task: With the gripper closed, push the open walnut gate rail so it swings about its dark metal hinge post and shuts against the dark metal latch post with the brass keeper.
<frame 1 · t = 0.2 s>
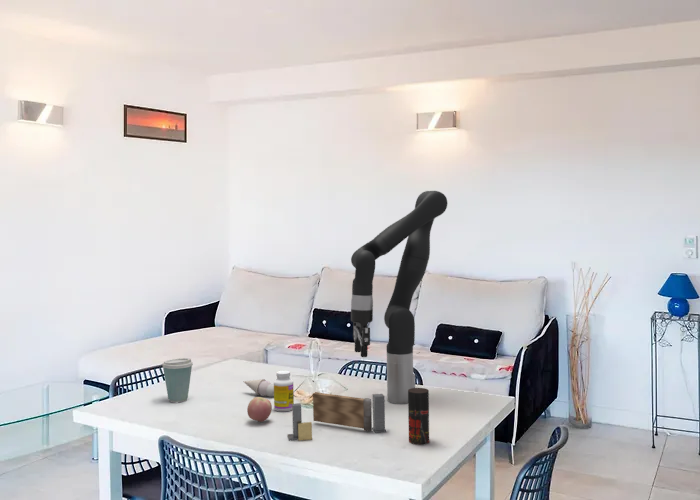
hand: (360, 354, 235), 17 cm above the table, fingers open, 8 cm apart
disposable coffee cup: (178, 400, 246), on the table
supplement bottle: (284, 409, 232), on the table
hinge post: (379, 430, 208), on the table
gate: (342, 411, 211), point 5 cm above the table, hinge at -40.0°
apple: (259, 422, 219), on the table
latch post: (297, 437, 203), on the table
ice cream cone: (259, 395, 251), on the table
deodorant: (419, 442, 198), on the table
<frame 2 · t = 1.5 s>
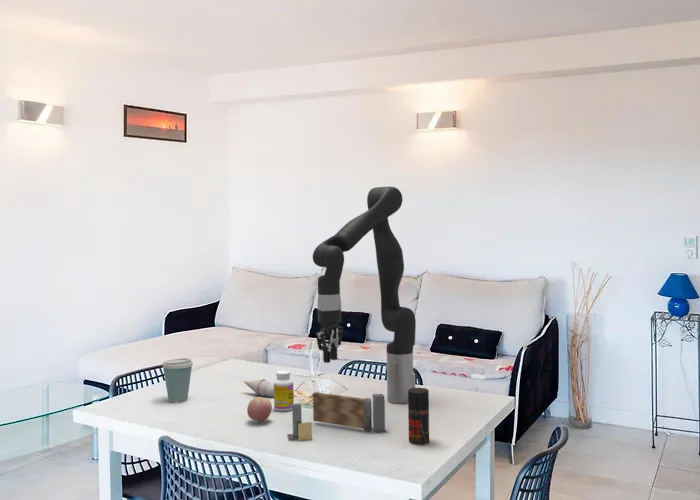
hand: (330, 360, 219), 19 cm above the table, fingers open, 3 cm apart
nothing on the table moved.
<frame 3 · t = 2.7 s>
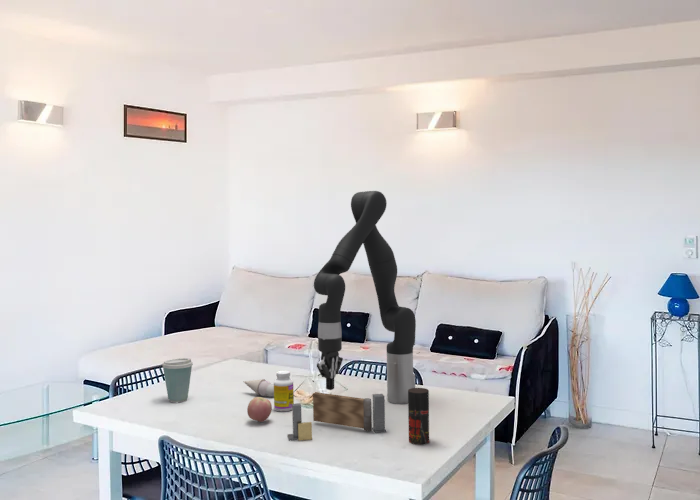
hand: (330, 389, 219), 10 cm above the table, fingers closed
nothing on the table moved.
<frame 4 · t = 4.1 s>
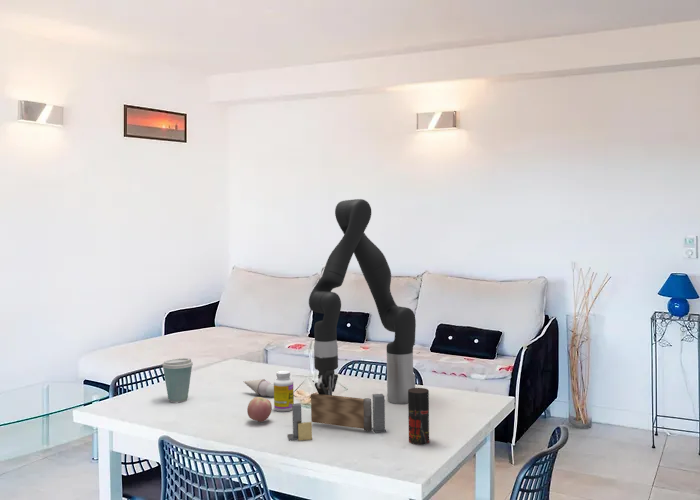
hand: (327, 407, 218), 5 cm above the table, fingers closed
gate: (341, 411, 211), point 5 cm above the table, hinge at -35.8°, touching hand
everything else where it was.
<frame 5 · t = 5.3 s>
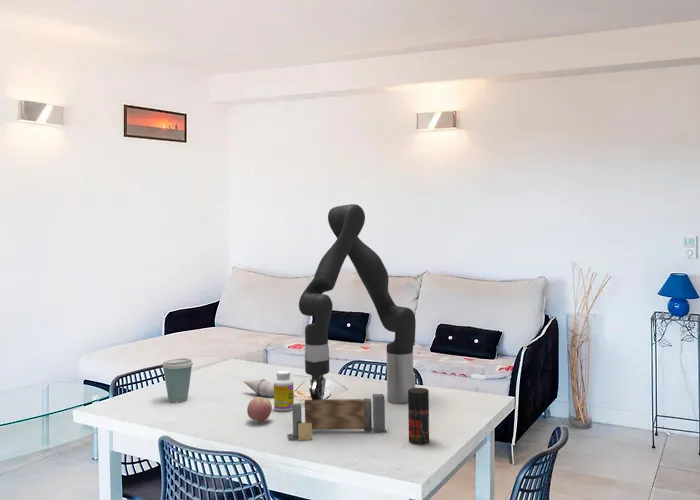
hand: (318, 412, 212), 5 cm above the table, fingers closed
gate: (338, 414, 207), point 5 cm above the table, hinge at -13.6°, touching hand
everything else where it was.
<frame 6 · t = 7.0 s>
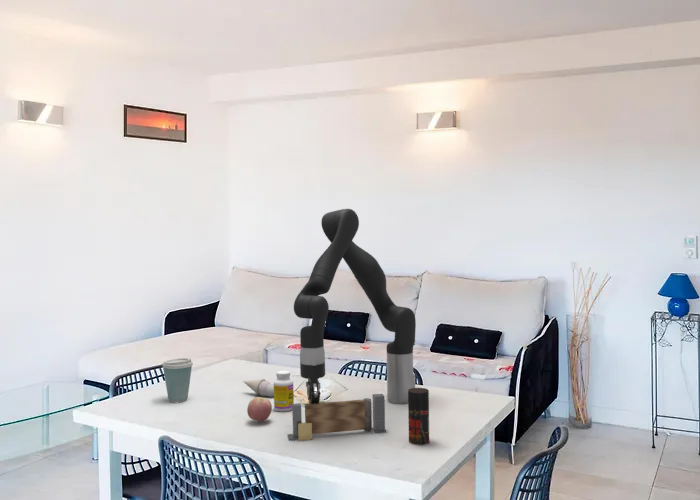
hand: (313, 416, 208), 5 cm above the table, fingers closed
gate: (338, 417, 205), point 5 cm above the table, hinge at 1.3°, touching hand
everything else where it was.
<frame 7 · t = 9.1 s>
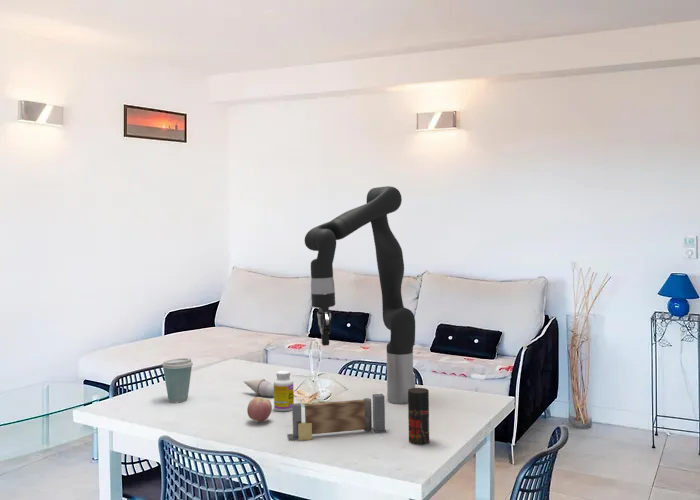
hand: (325, 345, 218), 24 cm above the table, fingers closed
gate: (338, 417, 205), point 5 cm above the table, hinge at 1.3°
everything else where it was.
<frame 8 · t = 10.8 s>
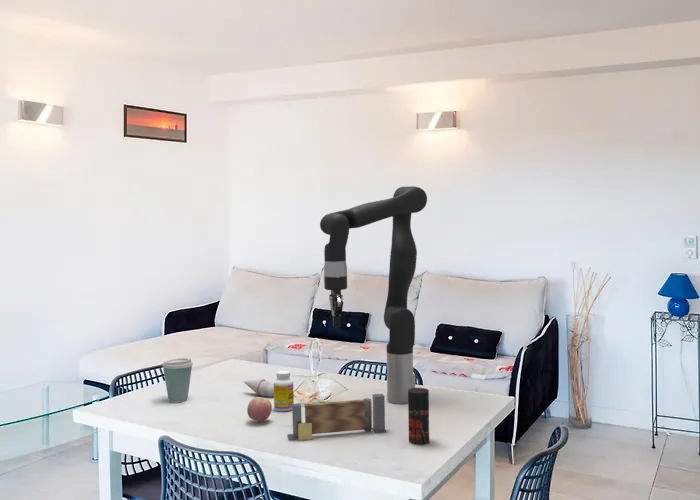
hand: (336, 327, 224), 29 cm above the table, fingers closed
nothing on the table moved.
at the end: gate at +1° (first picture: -40°); gate touching nothing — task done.
